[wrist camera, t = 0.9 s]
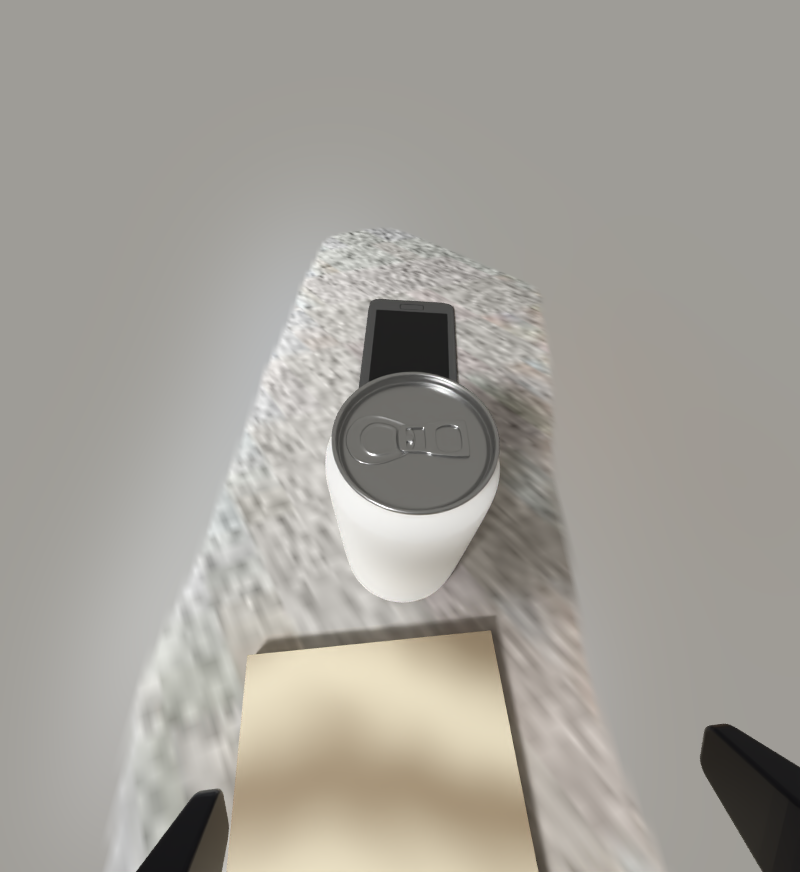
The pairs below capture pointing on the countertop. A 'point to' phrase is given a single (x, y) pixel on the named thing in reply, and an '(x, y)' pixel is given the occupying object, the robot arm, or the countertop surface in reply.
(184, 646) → the countertop surface
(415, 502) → the can
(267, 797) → the coaster
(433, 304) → the cell phone
